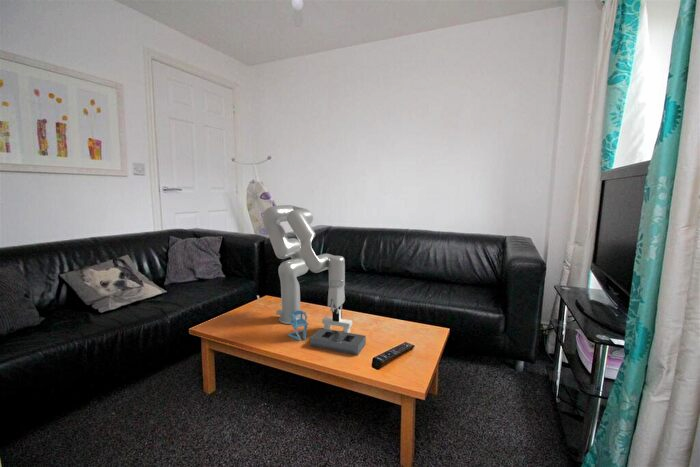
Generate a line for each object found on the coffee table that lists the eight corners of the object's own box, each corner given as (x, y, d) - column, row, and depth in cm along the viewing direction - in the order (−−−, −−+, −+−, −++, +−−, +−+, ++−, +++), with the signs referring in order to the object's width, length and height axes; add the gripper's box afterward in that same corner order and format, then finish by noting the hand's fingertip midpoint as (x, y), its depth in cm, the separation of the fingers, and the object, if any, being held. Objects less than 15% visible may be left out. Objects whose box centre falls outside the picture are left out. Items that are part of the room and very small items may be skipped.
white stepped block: (322, 330, 154) (322, 309, 153) (326, 327, 158) (325, 306, 156) (349, 335, 149) (349, 313, 148) (352, 331, 153) (352, 310, 151)
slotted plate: (310, 346, 139) (310, 337, 138) (320, 336, 148) (320, 328, 147) (357, 355, 131) (357, 346, 130) (365, 344, 140) (365, 335, 139)
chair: (294, 342, 142) (294, 317, 140) (287, 335, 149) (287, 311, 147) (310, 338, 146) (310, 313, 144) (303, 331, 153) (302, 307, 151)
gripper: (336, 277, 159) (336, 312, 162) (322, 286, 144) (322, 325, 147) (350, 278, 156) (350, 314, 159) (337, 288, 141) (337, 327, 144)
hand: (337, 319), depth 153 cm, fingers closed on white stepped block, 2 cm apart
